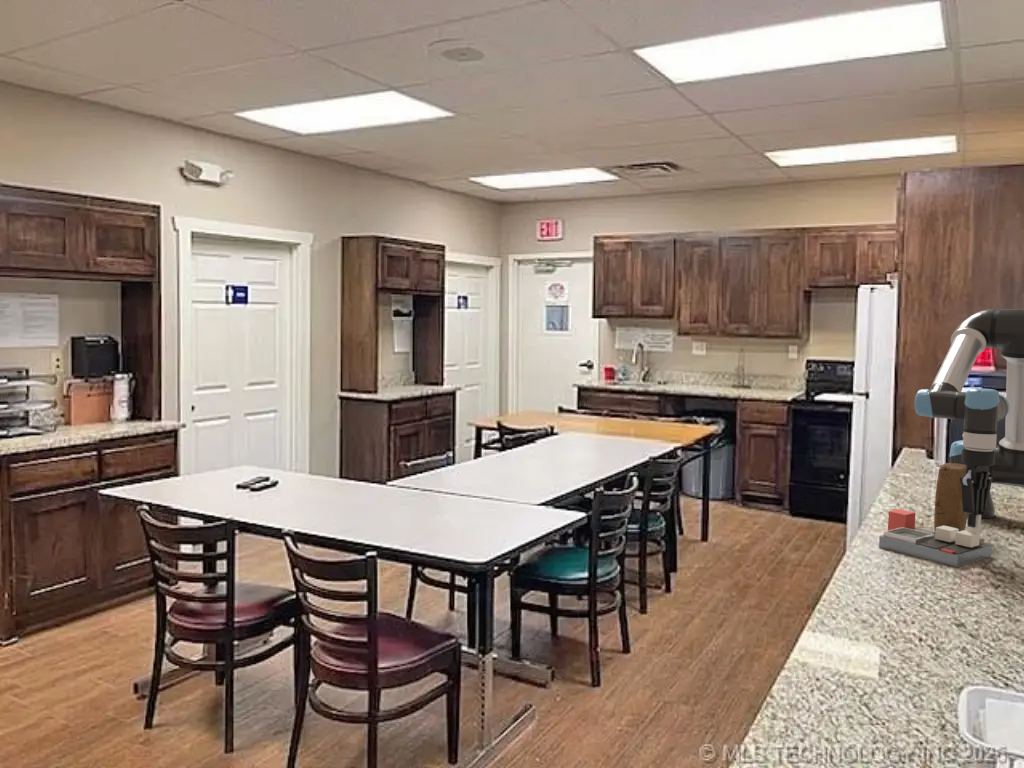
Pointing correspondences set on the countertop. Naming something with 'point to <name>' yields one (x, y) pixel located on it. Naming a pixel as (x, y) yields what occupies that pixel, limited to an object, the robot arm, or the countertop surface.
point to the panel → (932, 547)
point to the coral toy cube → (901, 519)
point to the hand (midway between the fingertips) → (973, 538)
